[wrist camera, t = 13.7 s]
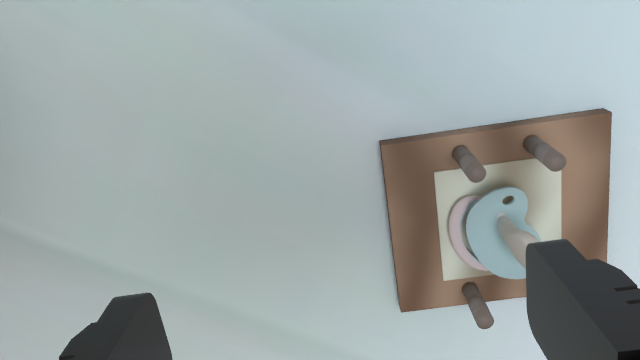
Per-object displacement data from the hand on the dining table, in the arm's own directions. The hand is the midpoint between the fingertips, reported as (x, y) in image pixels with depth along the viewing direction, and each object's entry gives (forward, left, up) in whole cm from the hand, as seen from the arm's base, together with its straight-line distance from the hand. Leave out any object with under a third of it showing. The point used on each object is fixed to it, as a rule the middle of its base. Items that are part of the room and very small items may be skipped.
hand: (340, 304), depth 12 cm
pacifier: (+10, -12, -27) cm, 31 cm away
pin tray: (+11, -12, -28) cm, 33 cm away
